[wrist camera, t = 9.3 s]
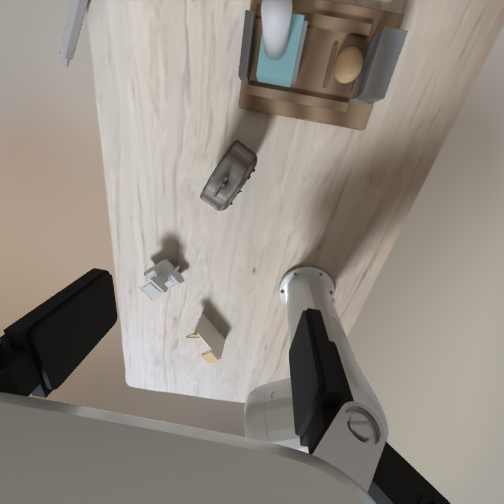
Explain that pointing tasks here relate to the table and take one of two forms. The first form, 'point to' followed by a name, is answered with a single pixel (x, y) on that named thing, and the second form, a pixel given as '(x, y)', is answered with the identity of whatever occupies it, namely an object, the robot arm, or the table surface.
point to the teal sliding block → (280, 43)
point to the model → (209, 339)
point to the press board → (325, 63)
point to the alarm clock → (229, 176)
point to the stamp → (161, 279)
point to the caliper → (72, 29)
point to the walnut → (348, 65)
